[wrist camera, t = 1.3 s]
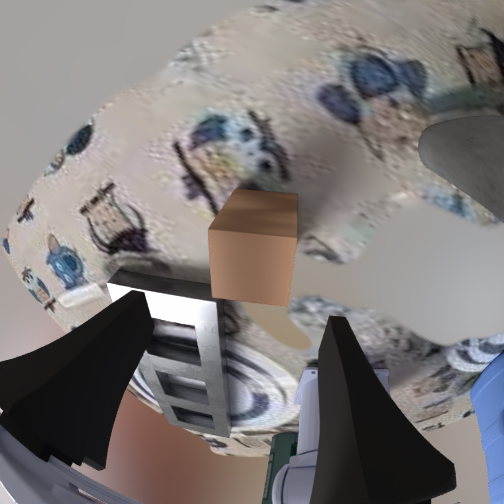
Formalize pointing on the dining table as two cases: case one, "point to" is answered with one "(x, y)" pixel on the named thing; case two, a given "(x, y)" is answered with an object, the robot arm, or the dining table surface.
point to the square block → (254, 247)
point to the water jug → (492, 423)
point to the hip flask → (469, 157)
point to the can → (279, 460)
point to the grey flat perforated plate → (184, 351)
